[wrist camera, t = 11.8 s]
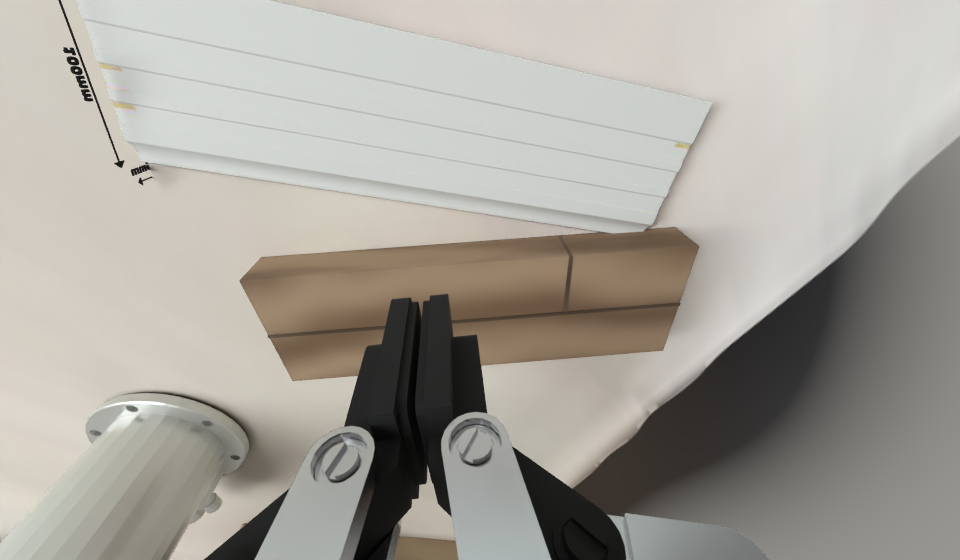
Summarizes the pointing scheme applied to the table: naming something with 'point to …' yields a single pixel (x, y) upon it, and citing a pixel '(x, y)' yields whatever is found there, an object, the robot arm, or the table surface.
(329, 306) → the plank row
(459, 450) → the robot arm
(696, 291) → the table surface
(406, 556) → the dark grey book
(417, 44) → the baseboard
